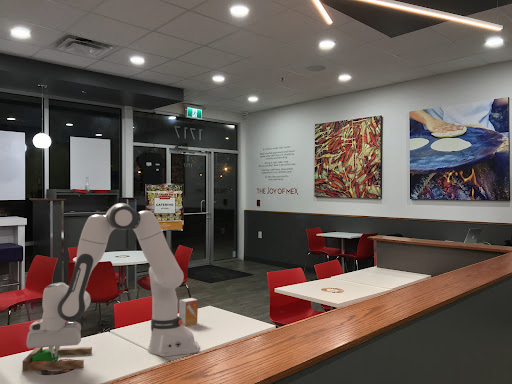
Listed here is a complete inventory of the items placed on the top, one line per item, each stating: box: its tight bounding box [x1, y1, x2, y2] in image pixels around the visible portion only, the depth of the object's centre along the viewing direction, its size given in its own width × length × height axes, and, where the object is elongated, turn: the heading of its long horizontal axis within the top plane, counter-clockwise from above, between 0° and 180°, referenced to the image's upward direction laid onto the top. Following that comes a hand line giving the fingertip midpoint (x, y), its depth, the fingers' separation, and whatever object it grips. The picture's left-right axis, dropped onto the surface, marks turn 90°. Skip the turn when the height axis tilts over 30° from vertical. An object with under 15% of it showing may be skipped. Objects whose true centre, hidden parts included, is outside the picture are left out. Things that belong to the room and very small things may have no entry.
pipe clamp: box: [32, 347, 59, 362], centre depth 169 cm, size 11×4×5 cm, turn 155°
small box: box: [178, 297, 199, 327], centre depth 226 cm, size 8×6×13 cm
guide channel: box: [21, 346, 93, 372], centre depth 171 cm, size 22×17×4 cm
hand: (54, 356), depth 170 cm, fingers closed
